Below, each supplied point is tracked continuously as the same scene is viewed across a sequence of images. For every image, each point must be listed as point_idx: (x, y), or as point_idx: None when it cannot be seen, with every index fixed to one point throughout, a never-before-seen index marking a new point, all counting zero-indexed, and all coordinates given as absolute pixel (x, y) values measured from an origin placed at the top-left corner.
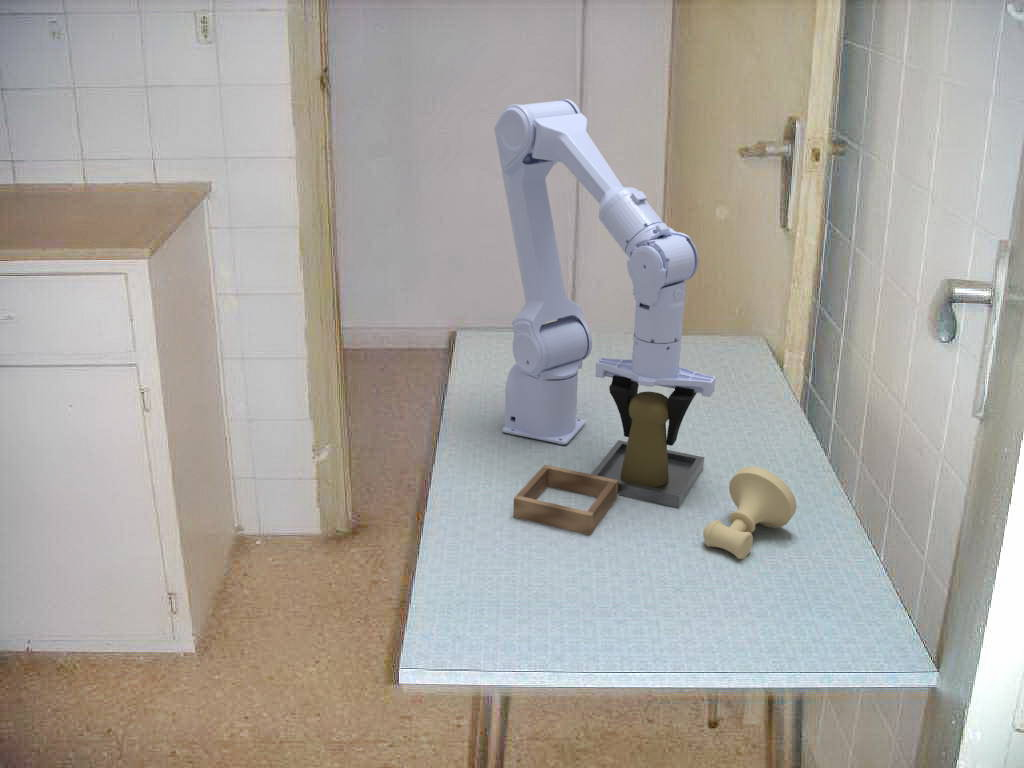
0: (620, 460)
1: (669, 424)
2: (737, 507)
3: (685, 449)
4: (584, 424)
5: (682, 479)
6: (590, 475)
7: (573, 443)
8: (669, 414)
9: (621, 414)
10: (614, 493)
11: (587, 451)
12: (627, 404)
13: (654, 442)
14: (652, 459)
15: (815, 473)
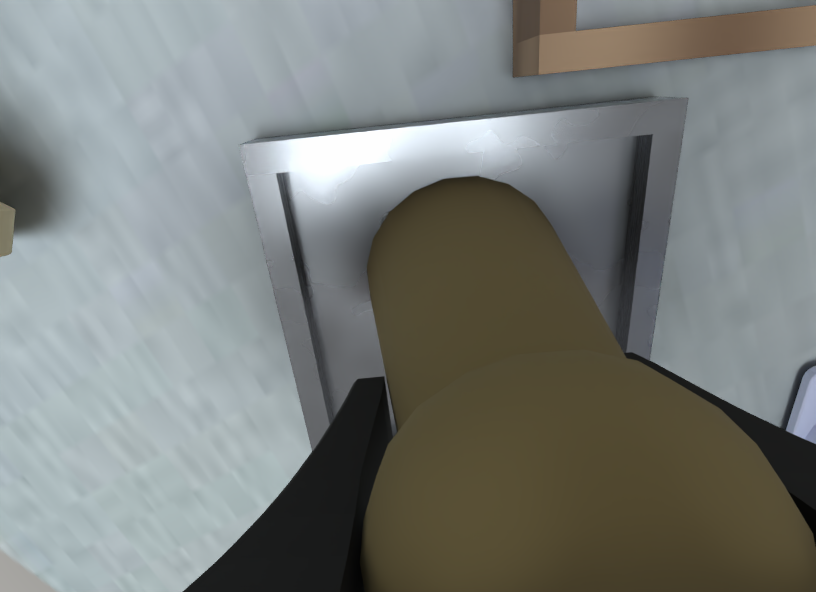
0: None
1: (357, 461)
2: (13, 208)
3: None
4: None
5: (329, 326)
6: (691, 43)
7: (776, 394)
8: (347, 531)
9: (764, 428)
10: (525, 23)
11: (717, 368)
12: (811, 507)
13: (426, 310)
14: (419, 255)
15: (46, 558)
